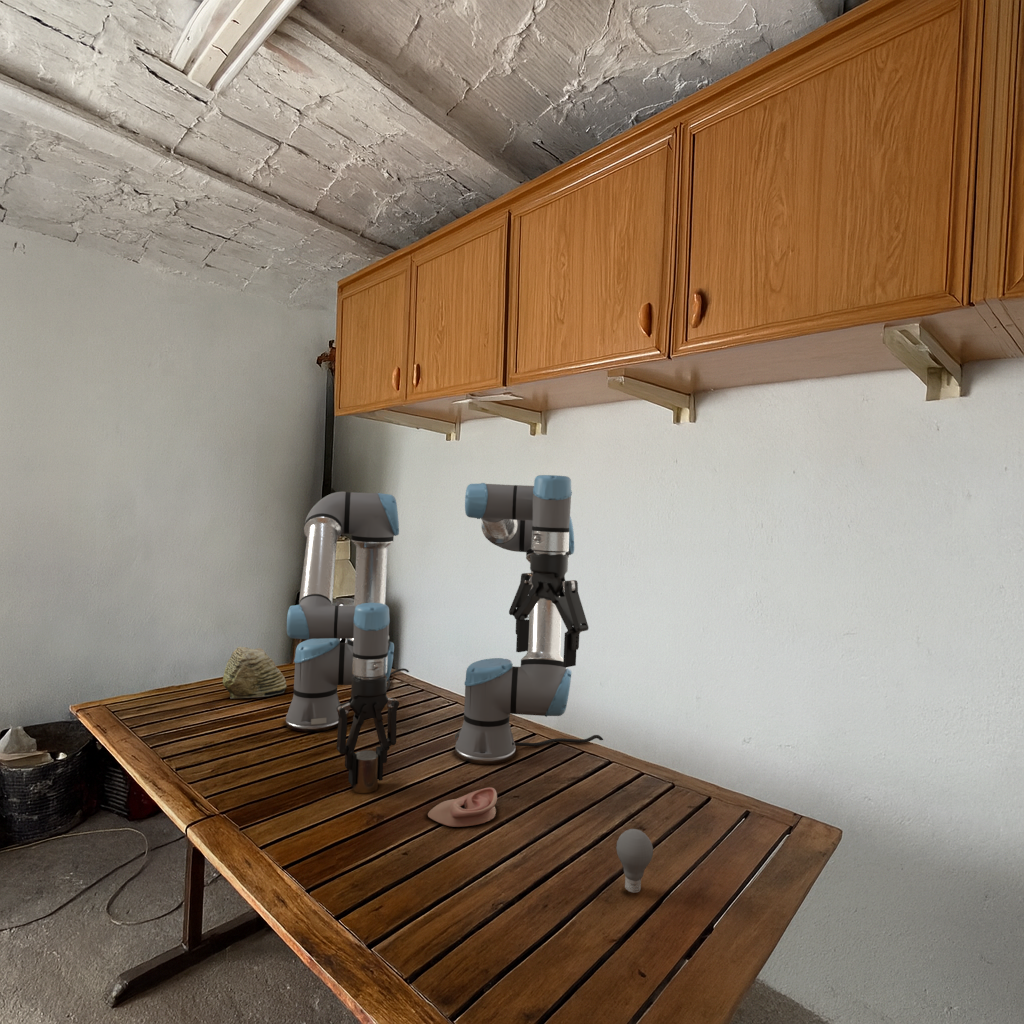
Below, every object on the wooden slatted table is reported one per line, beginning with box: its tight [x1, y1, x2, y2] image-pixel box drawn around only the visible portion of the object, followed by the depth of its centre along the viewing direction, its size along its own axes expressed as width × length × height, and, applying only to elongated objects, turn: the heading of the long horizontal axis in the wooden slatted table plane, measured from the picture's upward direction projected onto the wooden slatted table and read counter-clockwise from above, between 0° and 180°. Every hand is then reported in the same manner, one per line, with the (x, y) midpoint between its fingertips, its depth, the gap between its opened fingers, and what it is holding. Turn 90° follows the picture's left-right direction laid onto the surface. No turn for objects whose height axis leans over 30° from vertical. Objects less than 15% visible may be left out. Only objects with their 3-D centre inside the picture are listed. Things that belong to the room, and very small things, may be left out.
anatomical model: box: [427, 787, 498, 828], centre depth 129 cm, size 13×4×12 cm
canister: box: [352, 749, 379, 794], centre depth 139 cm, size 5×5×7 cm
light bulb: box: [615, 828, 654, 894], centre depth 106 cm, size 6×6×10 cm
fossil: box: [222, 646, 288, 699], centre depth 198 cm, size 9×18×15 cm, turn 132°
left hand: (365, 780), depth 139 cm, fingers closed on canister, 5 cm apart
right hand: (544, 658), depth 127 cm, fingers open, 13 cm apart
